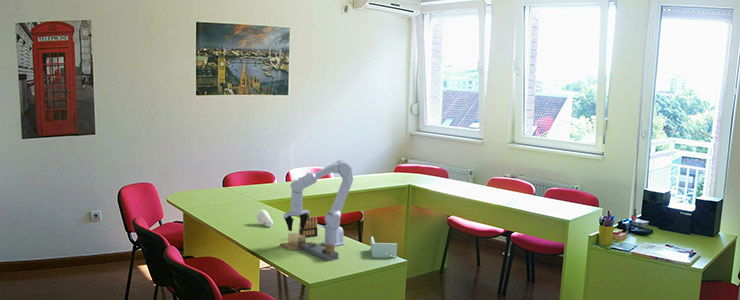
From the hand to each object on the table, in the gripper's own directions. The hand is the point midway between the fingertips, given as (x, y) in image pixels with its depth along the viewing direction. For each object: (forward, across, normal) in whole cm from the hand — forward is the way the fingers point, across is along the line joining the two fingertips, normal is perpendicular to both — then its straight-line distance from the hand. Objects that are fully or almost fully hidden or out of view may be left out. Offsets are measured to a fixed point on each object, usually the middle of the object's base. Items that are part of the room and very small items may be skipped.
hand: (296, 229), depth 289 cm
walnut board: (+9, 0, 0) cm, 9 cm away
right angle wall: (+10, -28, +36) cm, 46 cm away
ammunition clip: (+9, -15, -10) cm, 20 cm away
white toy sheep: (+9, -9, -43) cm, 45 cm away
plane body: (+9, -1, +18) cm, 20 cm away
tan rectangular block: (+8, 0, +1) cm, 8 cm away
